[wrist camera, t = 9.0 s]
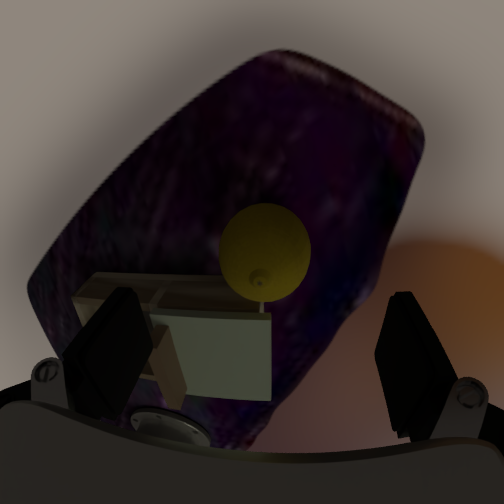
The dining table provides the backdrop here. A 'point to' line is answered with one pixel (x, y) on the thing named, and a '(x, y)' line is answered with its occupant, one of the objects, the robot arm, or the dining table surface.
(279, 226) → the lemon
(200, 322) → the cover
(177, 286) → the beige box
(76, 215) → the dining table surface
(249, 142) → the dining table surface
